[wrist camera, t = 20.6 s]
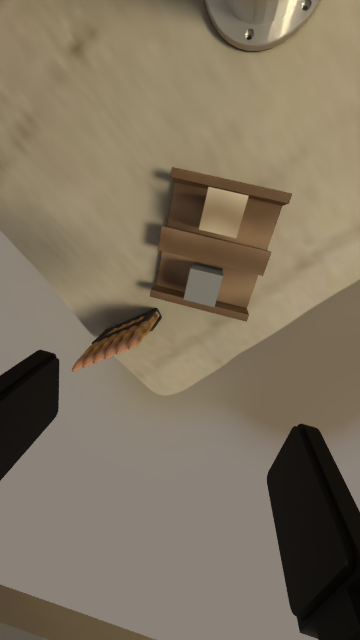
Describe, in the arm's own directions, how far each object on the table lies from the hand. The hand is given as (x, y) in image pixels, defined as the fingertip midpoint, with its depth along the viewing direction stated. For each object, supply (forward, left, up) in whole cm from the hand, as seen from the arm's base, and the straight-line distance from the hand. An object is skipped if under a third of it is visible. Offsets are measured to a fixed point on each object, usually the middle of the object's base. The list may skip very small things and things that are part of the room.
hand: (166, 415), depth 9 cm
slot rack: (-4, 0, -28) cm, 29 cm away
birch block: (-9, 0, -27) cm, 29 cm away
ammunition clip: (+11, -10, -29) cm, 32 cm away
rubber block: (0, 0, -27) cm, 27 cm away
